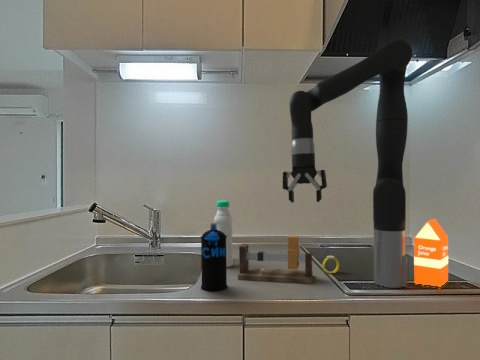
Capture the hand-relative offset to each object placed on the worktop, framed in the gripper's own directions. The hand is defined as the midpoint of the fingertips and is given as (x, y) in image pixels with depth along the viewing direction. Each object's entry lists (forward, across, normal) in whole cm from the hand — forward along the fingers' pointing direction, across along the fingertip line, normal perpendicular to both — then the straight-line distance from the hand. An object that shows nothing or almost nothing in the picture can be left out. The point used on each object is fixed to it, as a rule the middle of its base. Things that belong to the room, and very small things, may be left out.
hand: (305, 202), depth 123 cm
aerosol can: (+25, +26, +18) cm, 40 cm away
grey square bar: (+20, +11, +1) cm, 22 cm away
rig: (+25, +11, +1) cm, 27 cm away
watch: (+26, -6, -11) cm, 29 cm away
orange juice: (+27, -37, -8) cm, 47 cm away
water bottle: (+25, +34, -8) cm, 43 cm away
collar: (+22, +5, 0) cm, 22 cm away
